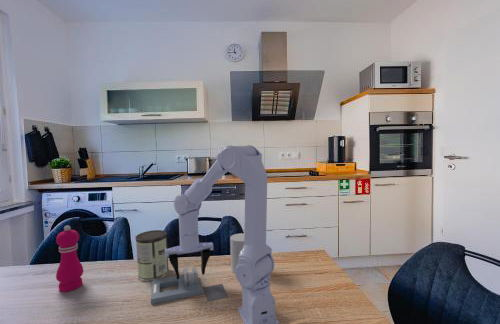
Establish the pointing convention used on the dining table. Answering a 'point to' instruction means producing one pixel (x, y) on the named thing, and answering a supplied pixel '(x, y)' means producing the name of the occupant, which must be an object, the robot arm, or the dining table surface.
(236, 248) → the cup
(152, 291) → the board
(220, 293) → the pad
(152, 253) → the coffee can
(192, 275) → the clip
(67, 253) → the pepper mill
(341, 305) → the dining table surface
